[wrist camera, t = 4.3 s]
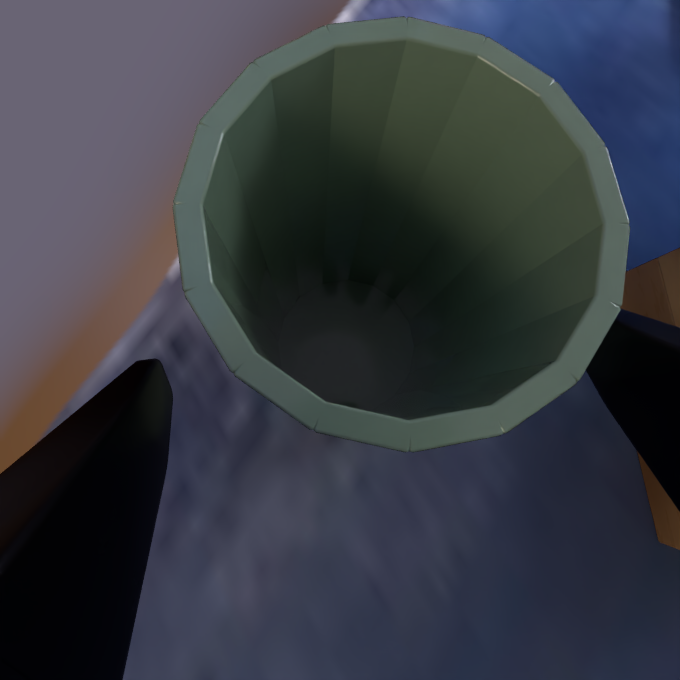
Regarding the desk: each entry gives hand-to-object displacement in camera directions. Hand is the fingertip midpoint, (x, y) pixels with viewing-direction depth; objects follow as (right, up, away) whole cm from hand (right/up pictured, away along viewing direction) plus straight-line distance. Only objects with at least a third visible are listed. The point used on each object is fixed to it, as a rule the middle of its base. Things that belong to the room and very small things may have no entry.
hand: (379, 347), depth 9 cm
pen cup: (-1, 0, +9) cm, 9 cm away
